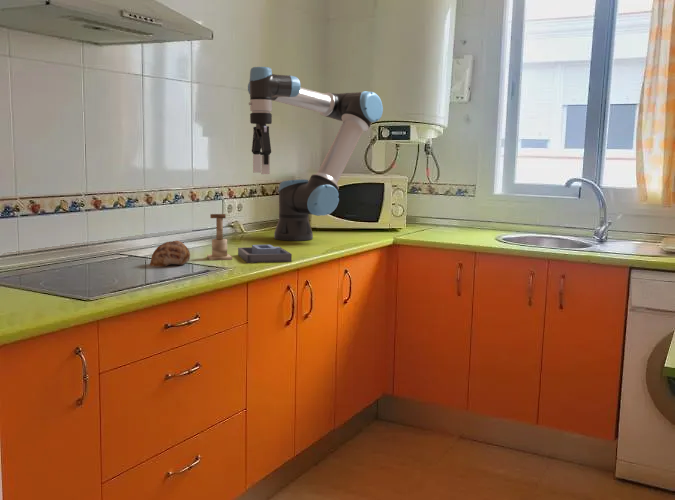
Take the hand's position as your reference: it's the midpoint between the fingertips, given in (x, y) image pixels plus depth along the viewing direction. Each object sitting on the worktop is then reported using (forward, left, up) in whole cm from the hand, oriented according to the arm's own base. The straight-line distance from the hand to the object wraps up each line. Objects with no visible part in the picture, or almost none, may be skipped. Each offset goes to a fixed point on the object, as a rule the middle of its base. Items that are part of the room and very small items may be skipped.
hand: (261, 173), depth 257 cm
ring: (+4, +26, -26) cm, 37 cm away
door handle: (+18, +24, -26) cm, 40 cm away
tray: (+4, +26, -26) cm, 37 cm away
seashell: (+34, +33, -27) cm, 55 cm away
